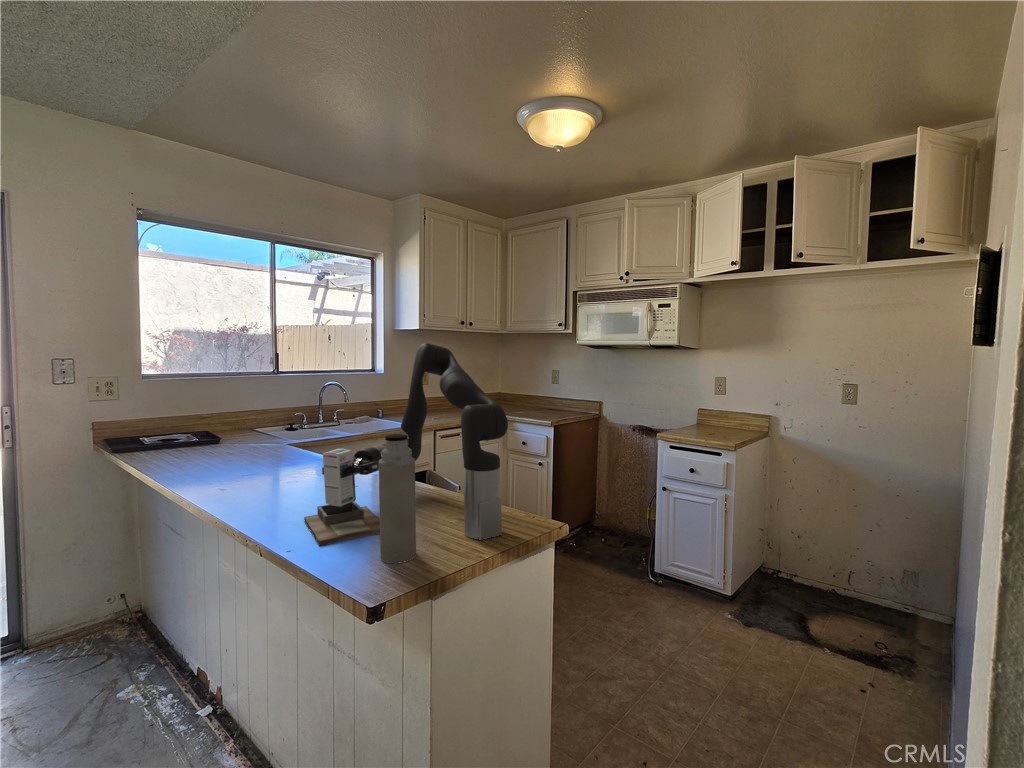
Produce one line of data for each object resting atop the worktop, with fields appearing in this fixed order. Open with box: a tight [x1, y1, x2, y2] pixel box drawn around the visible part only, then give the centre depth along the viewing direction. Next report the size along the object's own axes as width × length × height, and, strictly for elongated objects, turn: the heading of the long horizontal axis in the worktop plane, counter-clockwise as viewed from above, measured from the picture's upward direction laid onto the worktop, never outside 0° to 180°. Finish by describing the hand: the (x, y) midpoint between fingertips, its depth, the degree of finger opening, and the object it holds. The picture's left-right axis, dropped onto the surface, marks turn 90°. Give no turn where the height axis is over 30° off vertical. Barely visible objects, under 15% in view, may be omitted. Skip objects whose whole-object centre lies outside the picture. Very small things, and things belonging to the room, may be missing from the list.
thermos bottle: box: [378, 433, 417, 564], centre depth 111 cm, size 8×8×28 cm
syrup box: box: [322, 448, 357, 507], centre depth 134 cm, size 6×6×14 cm
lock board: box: [303, 500, 380, 546], centre depth 131 cm, size 20×17×4 cm
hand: (332, 472), depth 132 cm, fingers closed on syrup box, 6 cm apart
